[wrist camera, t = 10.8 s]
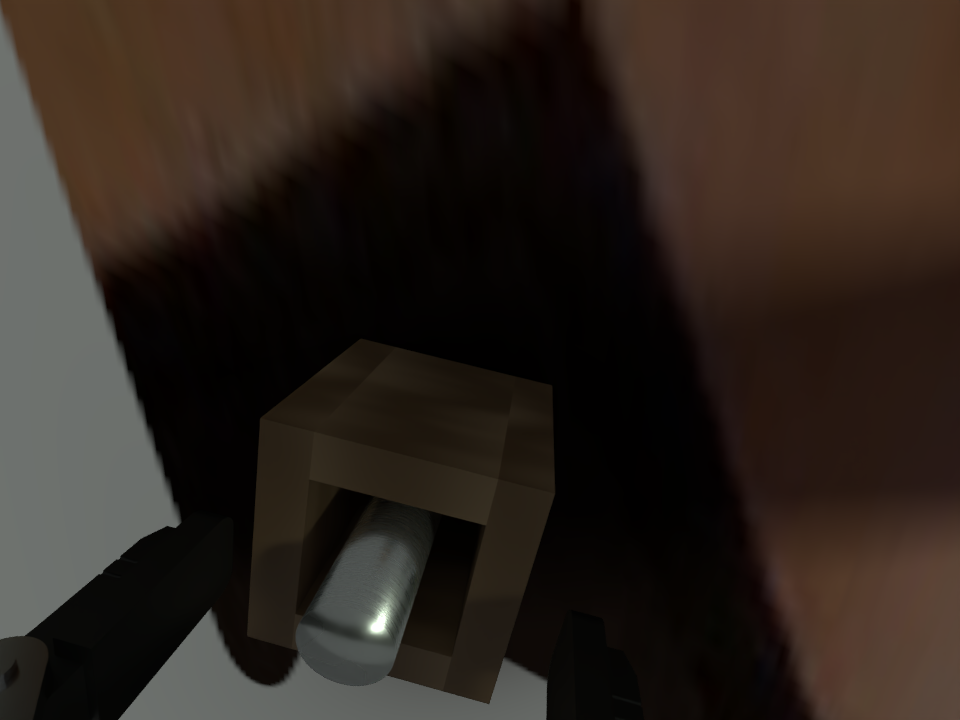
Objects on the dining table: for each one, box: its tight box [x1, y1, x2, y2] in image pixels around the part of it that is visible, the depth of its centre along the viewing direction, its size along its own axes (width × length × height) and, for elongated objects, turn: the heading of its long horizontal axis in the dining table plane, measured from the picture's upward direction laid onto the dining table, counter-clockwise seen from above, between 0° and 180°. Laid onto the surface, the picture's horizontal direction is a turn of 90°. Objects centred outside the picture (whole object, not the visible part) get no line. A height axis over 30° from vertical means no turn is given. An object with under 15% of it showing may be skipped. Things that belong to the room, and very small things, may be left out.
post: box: [295, 496, 442, 686], centre depth 14 cm, size 6×6×9 cm
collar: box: [247, 339, 555, 704], centre depth 14 cm, size 6×6×6 cm
